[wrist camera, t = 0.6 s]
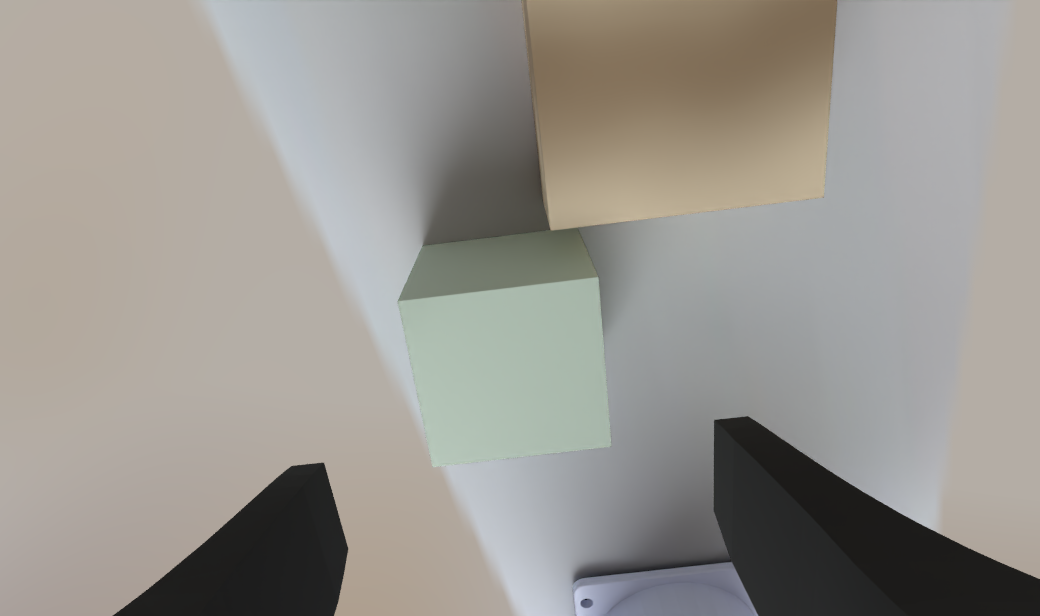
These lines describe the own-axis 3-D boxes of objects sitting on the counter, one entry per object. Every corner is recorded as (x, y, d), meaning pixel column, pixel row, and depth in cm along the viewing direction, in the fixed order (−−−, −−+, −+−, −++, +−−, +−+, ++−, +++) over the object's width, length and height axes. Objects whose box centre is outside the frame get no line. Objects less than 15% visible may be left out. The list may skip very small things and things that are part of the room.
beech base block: (762, 171, 19) (823, 197, 16) (542, 198, 19) (550, 230, 16) (770, -87, 17) (845, -129, 13) (515, -53, 17) (517, -84, 13)
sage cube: (589, 363, 22) (611, 446, 17) (448, 380, 22) (432, 467, 17) (576, 226, 20) (598, 277, 15) (423, 244, 20) (397, 301, 15)
